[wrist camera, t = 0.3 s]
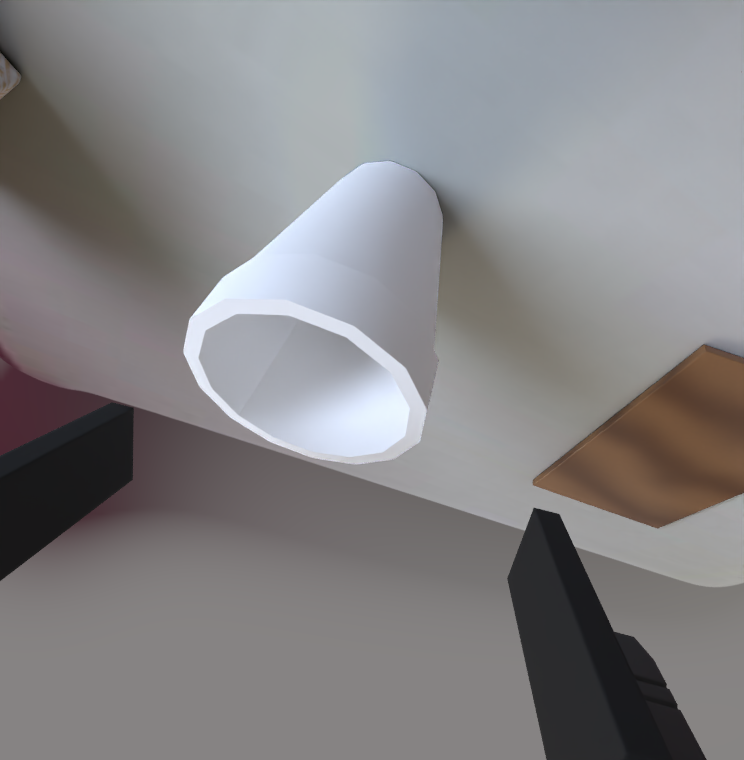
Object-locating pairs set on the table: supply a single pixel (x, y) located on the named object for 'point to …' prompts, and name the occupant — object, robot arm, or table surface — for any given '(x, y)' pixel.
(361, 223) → the foam cup
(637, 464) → the wooden placemat
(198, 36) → the table surface
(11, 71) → the decorative jar
